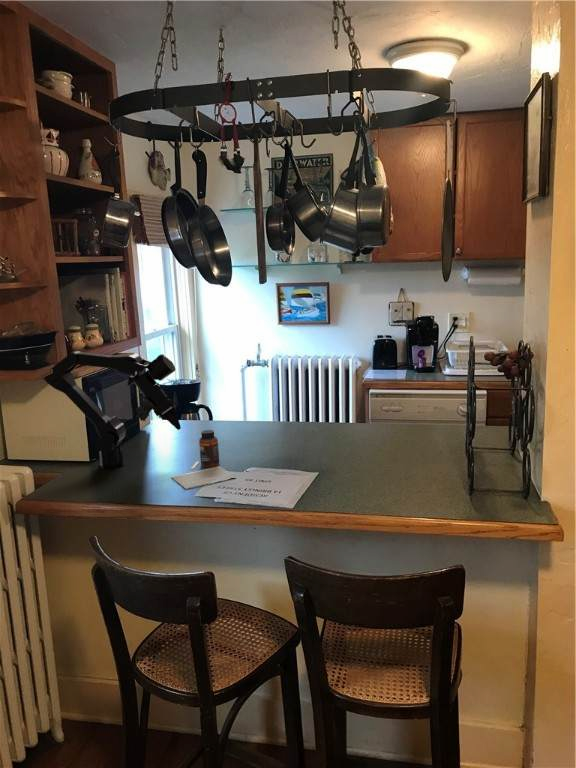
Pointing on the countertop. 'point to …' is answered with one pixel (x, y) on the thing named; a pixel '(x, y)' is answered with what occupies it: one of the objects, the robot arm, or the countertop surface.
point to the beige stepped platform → (199, 477)
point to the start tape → (194, 465)
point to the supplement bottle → (209, 449)
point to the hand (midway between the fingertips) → (179, 428)
